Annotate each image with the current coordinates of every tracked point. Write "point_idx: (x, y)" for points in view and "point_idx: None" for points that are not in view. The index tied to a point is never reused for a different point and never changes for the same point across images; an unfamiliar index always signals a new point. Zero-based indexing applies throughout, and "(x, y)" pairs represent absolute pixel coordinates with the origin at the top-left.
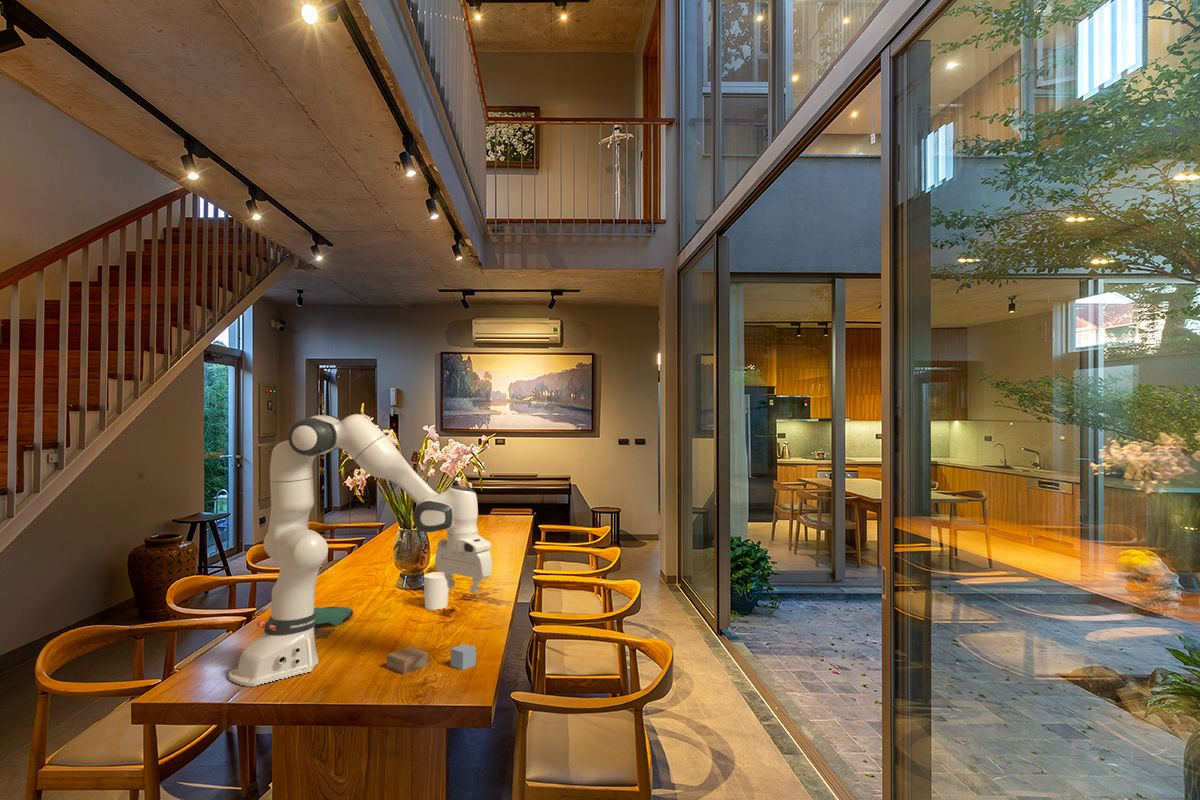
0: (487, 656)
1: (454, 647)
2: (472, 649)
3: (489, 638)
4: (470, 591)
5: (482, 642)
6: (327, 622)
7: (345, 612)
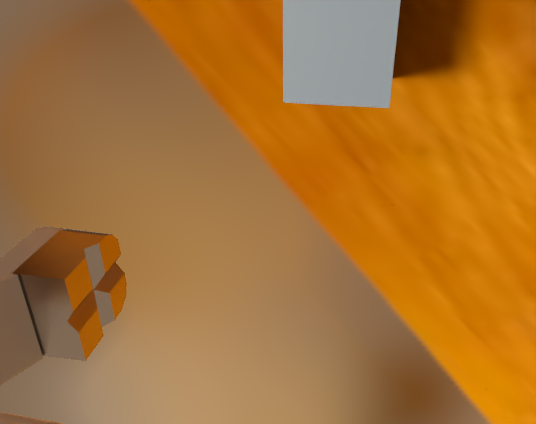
0: (329, 183)
1: (397, 24)
2: (284, 73)
3: (476, 345)
4: (96, 233)
5: (474, 299)
6: None
7: None
